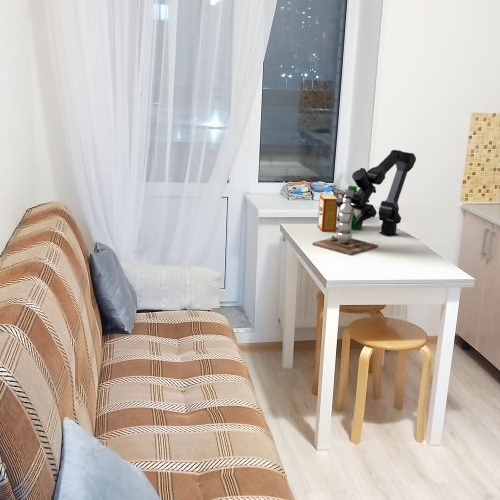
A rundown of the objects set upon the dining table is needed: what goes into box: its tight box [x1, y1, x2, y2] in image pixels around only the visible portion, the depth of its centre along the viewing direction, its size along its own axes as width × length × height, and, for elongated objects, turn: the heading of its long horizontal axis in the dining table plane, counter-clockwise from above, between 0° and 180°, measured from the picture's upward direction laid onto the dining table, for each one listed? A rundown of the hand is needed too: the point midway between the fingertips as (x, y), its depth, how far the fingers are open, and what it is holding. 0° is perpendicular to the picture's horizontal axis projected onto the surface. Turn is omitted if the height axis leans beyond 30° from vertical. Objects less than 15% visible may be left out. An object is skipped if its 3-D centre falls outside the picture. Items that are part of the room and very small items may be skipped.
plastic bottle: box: [336, 196, 354, 244], centre depth 283 cm, size 6×7×20 cm
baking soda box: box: [317, 194, 339, 233], centre depth 311 cm, size 10×6×16 cm
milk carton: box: [347, 185, 364, 231], centre depth 315 cm, size 9×9×20 cm
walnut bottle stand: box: [312, 235, 379, 256], centre depth 285 cm, size 20×20×3 cm
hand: (346, 222), depth 282 cm, fingers open, 9 cm apart
